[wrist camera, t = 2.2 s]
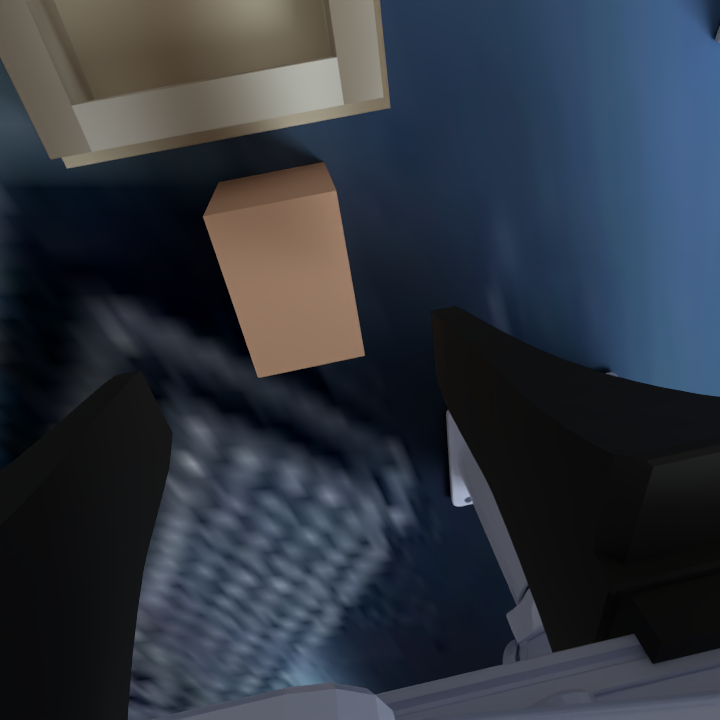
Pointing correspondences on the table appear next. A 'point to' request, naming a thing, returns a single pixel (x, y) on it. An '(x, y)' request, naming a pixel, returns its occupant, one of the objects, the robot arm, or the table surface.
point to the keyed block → (286, 267)
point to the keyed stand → (187, 69)
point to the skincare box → (718, 35)
